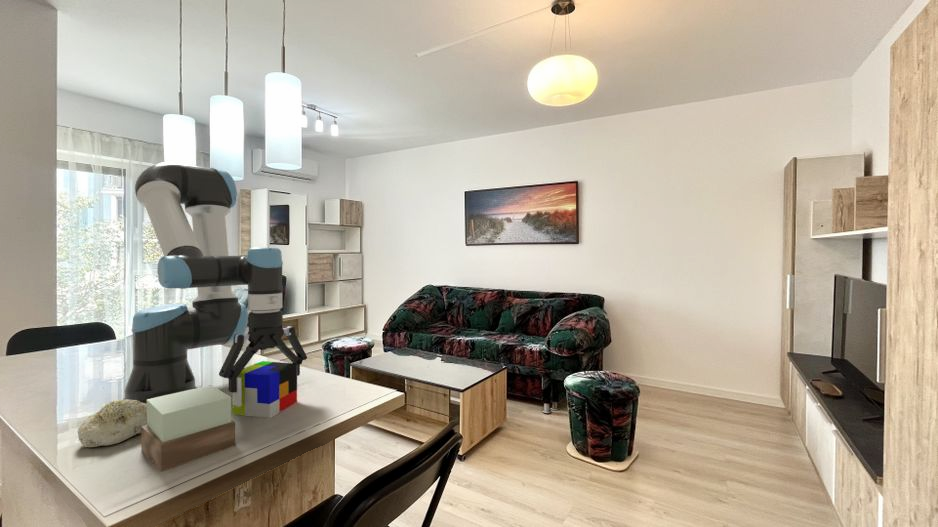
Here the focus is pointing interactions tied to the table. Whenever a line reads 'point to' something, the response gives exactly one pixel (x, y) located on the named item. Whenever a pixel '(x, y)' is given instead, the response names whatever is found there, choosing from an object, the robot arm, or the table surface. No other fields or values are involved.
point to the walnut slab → (186, 445)
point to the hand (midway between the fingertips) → (266, 396)
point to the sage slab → (188, 412)
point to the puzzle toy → (267, 388)
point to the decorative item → (113, 423)
